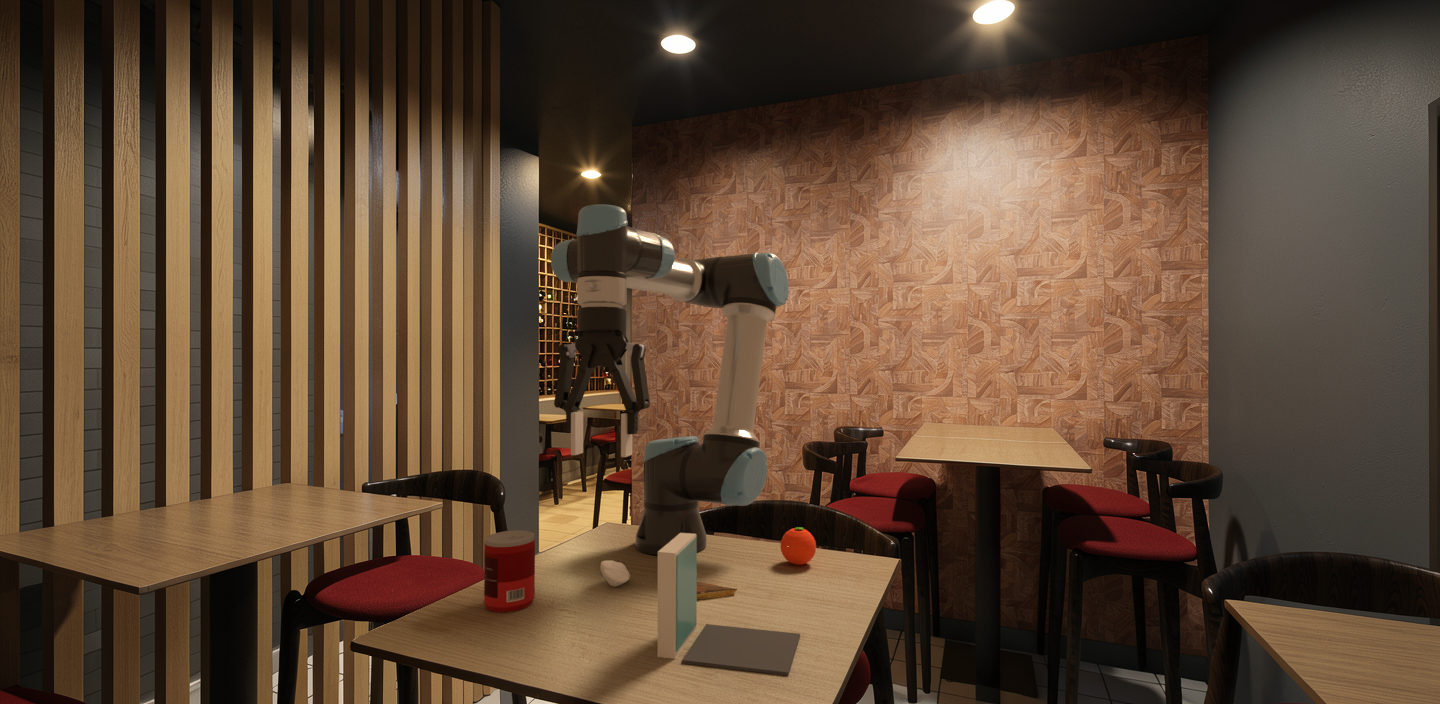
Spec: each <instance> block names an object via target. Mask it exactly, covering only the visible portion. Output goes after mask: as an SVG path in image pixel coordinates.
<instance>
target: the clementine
mask: <svg viewBox="0 0 1440 704" xmlns="http://www.w3.org/2000/svg"><path fill="white" fill-rule="evenodd" d="M816 542H817V541H816V540H815V537H814V536H813V535H812V534H811V532H809V531H808V529H805V528H804V527H800V526H799V527H798V526H797V527H794V528H791V529H789V530H787V531H786V532H785V533H784V534H783V536H782V538H781V540H780V546H779V547H780V552H781V553H782V556H783V557H784V559H785V560H786V561H787V562H789V563H790V564H793V565H798V566H801V565H806V564H808V563H809V562H810V561H812V559H813V558H814V557H815V554H816V550H817V543H816ZM787 546H789V547H787Z"/></svg>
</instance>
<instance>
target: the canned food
mask: <svg viewBox="0 0 1440 704" xmlns="http://www.w3.org/2000/svg"><path fill="white" fill-rule="evenodd" d="M535 537H536V536H535V533H534V532H531V531H528V530H505V531H500V532H495V533H492V534H490V535H488V536H486V537H484V550H483V551H484V552H483V553H484V555H483V556H484V557H483V560H484V561H483V562H484V564H483V567H484V568H483V570H484V571H483V572H484V573H483V574H484V575H483V576H484V577H483V579H484V581H483V582H484V585H483V587H484V588H483V591H484V592H483V593H484V594H483V597H484V600H483V601H484V606H485V608H486V609H487V611H489V612H492V611H493V612H492V613H512V612H511V611H513V612H517V611H520V609H521V610H523V608H524V609H526V608H527V607H528V608H529V606H531V605H532V604H533V602H534V599H535V589H536V588H535V587H536V585H535V582H536V579H535V578H536V577H535V576H536V573H535V571H536V570H535V569H536V565H535V564H536V538H535Z"/></svg>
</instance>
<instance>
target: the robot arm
mask: <svg viewBox="0 0 1440 704" xmlns="http://www.w3.org/2000/svg"><path fill="white" fill-rule="evenodd" d="M577 218H578V219H577V227H576V228H577V230H576V234H575V235H576V237H577V238H571V239H568V240H564V241H560V242H558V243H557V244H555V246H554V247H553V248H552V250H551V254H550V266H551V269H552V271H553V274H554V275H555V276H556V278H558V280H560V281H561V282H564V283H577V294H576V295H577V304H578V305H580V306H581V307H579V308H578V309H577V311H576V316H577V317H576V320H577V321H576V325H577V326H576V329H577V338H576V340H575V341H574V343H573V342H572V343H570V344H569V343H568V344H559V345H558V347H557V349H558V354H559V367H558V371H557V372H558V373H557V381H556V387H555V394H554V395H555V396H554V401H553V405H554V407H555V408H559V409H562V410H563V411H564V412H565V430H566V433H567V434H568V433H569V434H570V456H578V455H580V454H583V453H584V411H580V410H581V408H580V405H581V403H582V400H583V398H584V395H585V393H586V391H587V388H588V385H589V381H590V380H591V377H592V374H593V373H594V372H595V370H596V368H599V367H602V368H608V370H609V372H610V373H611V374H612V377H613V379H614V383H615V385H616V388H617V390H618V393H619V396H620V398H621V401H622V403H623V406H624V409H625V410H624V411H623V412H624V413H621V414H620V457H621V458H627V457H630V456H632V455H633V435H637V433H638V431H639V418H638V417H639V413H640V412H641V411H643V410H645V409H649V408H650V407H651V401H650V395H649V386H648V380H647V379H648V378H647V371H646V365H645V355H646V350H647V349H646V348H647V347H646V345H645V344H643V343H642V344H641V343H632V342H629V340H628V337H627V310H626V308H623V307H624V306H626V305H627V300H628V299H627V298H628V297H627V295H628V294H627V291H628V290H627V289H633V290H638V291H642V292H643V291H644V292H649V293H655V294H661V295H666V296H670V298H672V299H673V300H675V301H677V302H680V303H687V304H691V305H694V306H695V305H696V306H701V307H704V308H705V307H706V308H712V309H721V311H722V313H723V314H724V315H725V317H726V318H727V320H726V321H727V322H726V328H725V335H724V341H723V347H722V348H723V350H722V358H721V363H720V370H719V375H718V376H719V377H718V385H717V392H716V398H715V407H714V412H713V421H712V426H711V427H710V428H709V429H708V430H707V431H706V432H704V433H703V438H702V443H701V444H700V440H699V438H698V436H696V435H695V436H694V435H689V436H679V437H670V438H662V439H655V440H650V441H648V443H646V445H645V446H644V455H643V461H642V464H643V513H642V516H641V518H640V522H639V524H638V529H637V531H636V534H635V549H636V550H638V551H639V552H641V553H643V554H648V555H654V556H658V551H659V550H661V549H662V548H663V547H664V546H665V545H666V544H668V543H669V542H670V541H671V540H672V539H674V538H675V537H676V536H677V535H678V534H680V533H690V534H696V537H697V552H700V551H702V550H704V549H705V548H706V547H707V533H706V530H705V526H704V524H703V519H702V517H701V514H700V512H699V502H705V503H712V504H719V505H725V506H728V507H731V506H738V507H739V506H742V507H744V506H749V505H751V504H752V503H753V502H755V501H756V500H757V498H758V497H759V496H760V495H761V494H762V491H763V490H764V486H765V484H766V480H767V477H768V467H769V465H768V463H767V461H768V459H767V458H768V457H767V455H766V453H765V452H764V450H762V449H761V448H760V440H759V439H758V437H757V436H756V435H755V432H754V430H755V422H756V421H755V420H756V415H757V413H756V412H757V408H758V407H757V406H758V398H759V389H760V381H761V375H762V366H763V357H764V350H765V342H766V335H767V334H766V333H767V326H768V323H769V322H771V321H773V320H774V319H775V317H776V313H777V310H776V309H777V307H782V306H784V305H785V304H787V301H788V297H789V291H790V289H789V279H788V275H787V272H786V269H785V266H784V264H783V262H782V260H781V259H780V258H779V257H778V256H777V255H776V254H774V253H772V252H753V253H748V254H747V253H745V254H737V255H736V254H735V255H726V256H714V257H708V258H698V259H693V258H692V259H691V258H688V257H683V258H682V257H681V258H679V259H676V257H675V255H676V254H675V249H674V245H672V243H671V241H670V240H668V239H667V238H666V237H664V236H662V235H660V234H659V235H658V234H657V233H655V232H649V231H647V230H646V231H645V230H642V229H637V228H634V227H630V226H629V225H628V223H629V222H628V220H627V219H628V217H627V212H626V210H625V209H624V208H622V207H620V206H617V205H613V204H612V205H611V204H604V203H603V204H602V203H601V204H600V203H599V204H589V205H586V206H583V207H581V209H580V210H579V212H578V217H577ZM627 351H628V356H629V357H630V363H631V364H630V365H631V366H630V367H631V373H632V379H633V380H632V381H633V386H634V390H633V387H632V386H631V385H632V384H631V382H630V380H629V378H628V375H627V372H626V366H625V363H624V362H623V359H622V358H623V356H624V355H625V354H626V352H627ZM577 352H578V353H579V356H580V357H581V360H580V362H579V365H578V368H577V369H578V371H577V374H576V376H575V378H574V382H573V384H572V381H573V374H574V373H573V372H574V367H575V357H576V356H577ZM571 386H572V387H571Z"/></svg>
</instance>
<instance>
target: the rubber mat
mask: <svg viewBox="0 0 1440 704" xmlns="http://www.w3.org/2000/svg"><path fill="white" fill-rule="evenodd" d="M800 639H801V633H797V632H786V631H779V630H778V631H777V630H769V629H768V630H767V629H757V628H747V627H739V626H738V627H737V626H730V625H729V626H728V625H719V624H708V623H706V624H705V625H704V626H703V628H702V630H701V631H700V632H699V634H698V636H697V637H696V638H695V640H694V641H693V643H692V644H691V646H690V647H689V649H688V650H687V652H686V653H685V655H684V657H683V658H682V659H681V663H682V664H688V665H694V666H695V665H696V666H704V667H713V668H720V669H729V670H736V671H737V670H738V671H746V672H755V673H763V674H771V675H772V674H773V675H780V676H789V675H790V671H791V668H792V664H793V661H794V658H795V655H796V651H797V649H798V644H799V641H800Z"/></svg>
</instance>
